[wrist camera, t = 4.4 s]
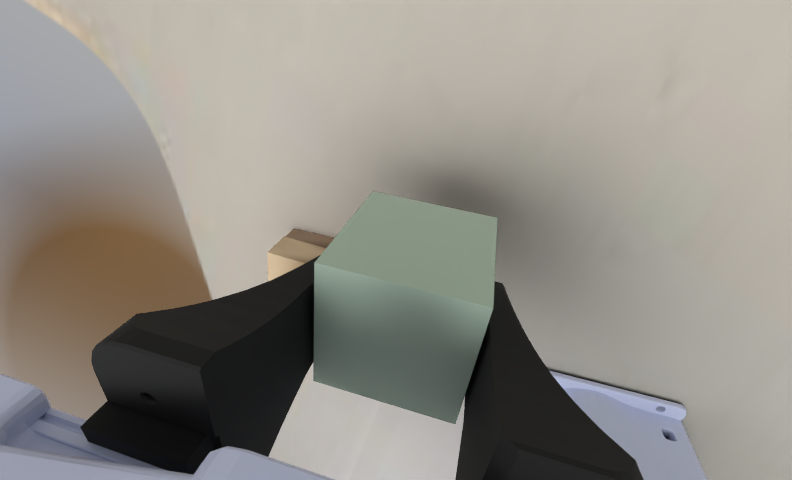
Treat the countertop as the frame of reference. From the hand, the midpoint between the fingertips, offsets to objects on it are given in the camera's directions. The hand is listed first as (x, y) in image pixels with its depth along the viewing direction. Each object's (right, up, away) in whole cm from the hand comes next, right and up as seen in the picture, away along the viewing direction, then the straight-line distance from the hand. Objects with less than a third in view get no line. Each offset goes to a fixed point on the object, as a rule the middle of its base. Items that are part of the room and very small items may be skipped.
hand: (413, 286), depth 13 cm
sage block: (+1, +1, +1) cm, 2 cm away
